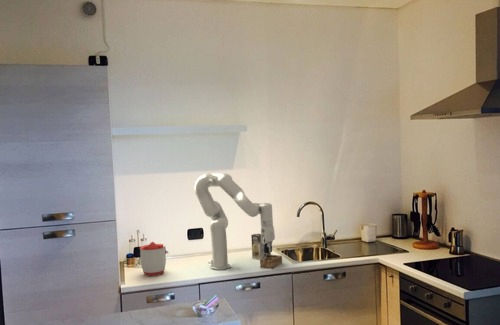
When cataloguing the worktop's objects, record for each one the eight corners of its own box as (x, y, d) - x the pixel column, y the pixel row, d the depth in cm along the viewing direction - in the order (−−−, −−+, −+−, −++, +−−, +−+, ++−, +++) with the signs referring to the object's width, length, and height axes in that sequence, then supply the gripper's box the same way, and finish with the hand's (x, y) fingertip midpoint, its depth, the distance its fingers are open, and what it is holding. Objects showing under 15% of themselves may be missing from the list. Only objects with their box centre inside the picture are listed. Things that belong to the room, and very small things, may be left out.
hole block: (260, 267, 291) (260, 259, 291) (271, 262, 303) (270, 254, 303) (271, 269, 287) (271, 260, 287) (282, 263, 299) (281, 255, 299)
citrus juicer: (172, 274, 285) (170, 241, 284) (143, 278, 278) (141, 245, 277) (166, 268, 299) (164, 237, 298) (139, 272, 292) (137, 241, 292)
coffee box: (251, 258, 316) (250, 234, 316) (259, 256, 320) (258, 233, 319) (260, 260, 309) (259, 236, 308) (267, 258, 313) (266, 234, 312)
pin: (265, 257, 291) (264, 241, 291) (267, 256, 294) (266, 240, 294) (269, 258, 290) (268, 242, 289) (271, 256, 292) (271, 241, 292)
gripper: (265, 225, 282) (267, 255, 283) (278, 221, 296) (279, 250, 297) (254, 225, 286) (256, 254, 287) (267, 220, 300) (269, 249, 301)
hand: (268, 252), depth 292 cm, fingers closed on pin, 3 cm apart
